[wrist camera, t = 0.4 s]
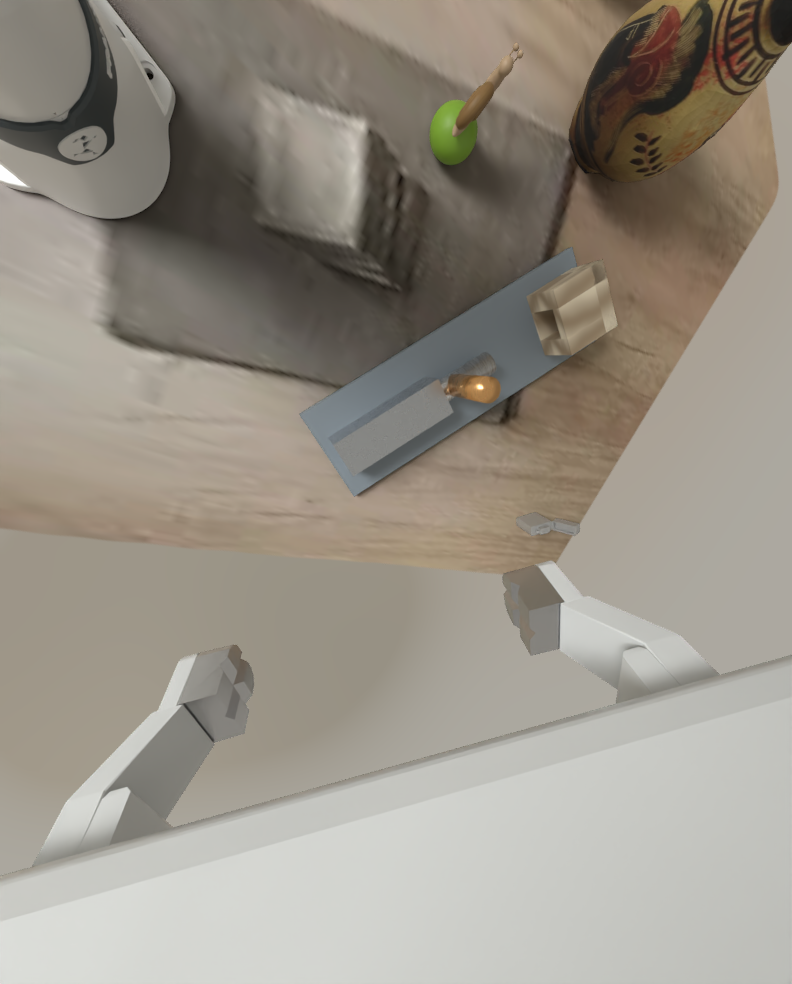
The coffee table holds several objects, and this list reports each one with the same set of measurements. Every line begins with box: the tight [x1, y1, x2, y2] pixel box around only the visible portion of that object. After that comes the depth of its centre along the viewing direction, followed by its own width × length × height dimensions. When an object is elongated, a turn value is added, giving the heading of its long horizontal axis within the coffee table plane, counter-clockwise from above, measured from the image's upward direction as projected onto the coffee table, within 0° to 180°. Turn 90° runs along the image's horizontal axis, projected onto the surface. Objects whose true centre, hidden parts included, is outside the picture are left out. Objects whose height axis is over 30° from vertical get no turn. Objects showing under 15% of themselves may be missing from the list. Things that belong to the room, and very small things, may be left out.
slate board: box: [300, 247, 596, 496], centre depth 55 cm, size 14×45×1 cm, turn 120°
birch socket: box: [526, 259, 618, 355], centre depth 53 cm, size 9×8×6 cm
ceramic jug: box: [569, 0, 792, 182], centre depth 37 cm, size 17×15×30 cm
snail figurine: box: [430, 42, 523, 165], centre depth 40 cm, size 5×6×12 cm
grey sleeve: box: [328, 377, 453, 476], centre depth 51 cm, size 5×16×5 cm, turn 120°
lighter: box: [516, 512, 580, 536], centre depth 65 cm, size 7×2×8 cm, turn 100°
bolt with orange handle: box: [439, 352, 501, 403], centre depth 48 cm, size 3×24×11 cm, turn 120°
